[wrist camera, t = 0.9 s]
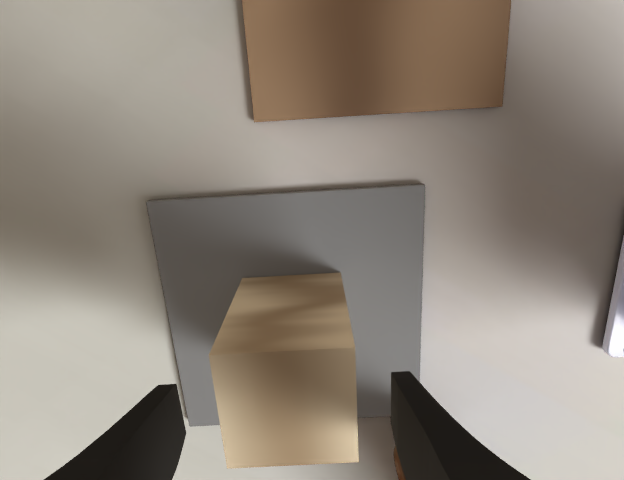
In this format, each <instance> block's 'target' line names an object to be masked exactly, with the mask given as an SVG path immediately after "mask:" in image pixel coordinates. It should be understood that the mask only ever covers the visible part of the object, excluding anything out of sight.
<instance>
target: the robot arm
mask: <svg viewBox="0 0 624 480" xmlns="http://www.w3.org/2000/svg"><path fill="white" fill-rule="evenodd" d="M603 350H604V352H606V353H607V354H608V355H610V356H611V357H624V237H623V242H622V247H621V252H620V257H619V263H618V268H617V273H616V278H615V283H614V288H613V294H612V299H611V304H610V309H609V314H608V320H607V325H606V330H605V335H604V340H603ZM391 425H392V430H393V435H394V440H395V444H396V449H397V453H398V456H399V459H400V463H401V466H402V469H403V472H404V475H405V478H406V480H530V479H529V478H527V477H526V476H524V475H523V474H521V473H520V472H519V471H517V470H516V469H514V468H513V467H511V466H510V465H508V464H507V463H506V462H504V461H503V460H502V459H500V458H499V457H498V456H496V455H495V454H494V453H492V452H491V451H490V450H489V449H487V448H486V447H485V446H484V445H482V444H481V443H480V442H479V441H478V440H476V439H475V438H474V437H473V436H472V435H471V434H470V433H469V432H467V431H466V430H465V429H464V428H463V427H462V426H461V425H460V424H459V423H458V422H457V421H456V420H455V419H454V418H453V417H452V416H451V415H450V414H449V413H448V412H447V411H446V410H445V409H444V408H443V407H442V406H441V405H440V404H439V403H438V402H437V401H436V400H435V399H434V398H433V397H432V396H431V395H430V393H429V392H428V391H427V390H426V389H425V388H424V387H423V386H422V384H421V383H420V382H419V381H418V380H417V379H416V377H415V376H414V375H413V374H412V373H411V372H410V371H401V372H391ZM185 436H186V430H185V425H184V420H183V415H182V410H181V405H180V400H179V395H178V390H177V385H176V384H169V385H158V386H157V387H156V388H154V389H153V390H152V391H151V392H150V393H149V394H147V395H146V396H145V397H144V398H143V399H142V400H141V401H140V402H139V403H138V404H136V405H135V406H134V407H133V408H132V409H131V410H130V411H129V412H128V413H127V414H125V415H124V416H123V417H122V418H121V419H120V420H119V421H118V422H116V423H115V424H114V425H113V426H112V427H111V428H110V429H109V430H107V431H106V432H105V433H104V434H103V435H101V436H100V437H99V438H98V439H96V440H95V441H94V442H93V443H92V444H90V445H89V446H88V447H87V448H86V449H84V450H83V451H82V452H81V453H80V454H78V455H77V456H76V457H74V458H73V459H72V460H70V461H69V462H68V463H66V464H65V465H64V466H62V467H61V468H60V469H58V470H57V471H55V472H54V473H53V474H51V475H50V476H48V477H47V478H46V479H44V480H172V478H173V476H174V473H175V471H176V468H177V465H178V462H179V458H180V455H181V451H182V447H183V443H184V439H185Z"/></svg>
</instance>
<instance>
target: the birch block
mask: <svg viewBox="0 0 624 480" xmlns="http://www.w3.org/2000/svg"><path fill="white" fill-rule="evenodd" d="M209 360H210V366H211V373H212V379H213V385H214V391H215V397H216V403H217V409H218V415H219V421H220V428H221V434H222V440H223V446H224V452H225V458H226V464H227V468H247V467H268V466H289V465H309V464H330V463H350V462H359V456H358V422H357V389H356V356H355V344H354V338H353V333H352V328H351V323H350V318H349V313H348V308H347V302H346V297H345V292H344V287H343V282H342V277H341V272H340V273H322V274H305V275H287V276H269V277H252V278H242V280H241V282H240V285H239V287H238V289H237V291H236V294H235V296H234V298H233V301H232V303H231V305H230V307H229V310H228V312H227V314H226V317H225V319H224V321H223V323H222V326H221V328H220V330H219V333H218V335H217V337H216V339H215V342H214V344H213V346H212V349H211V351H210V353H209Z"/></svg>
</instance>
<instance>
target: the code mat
mask: <svg viewBox="0 0 624 480" xmlns="http://www.w3.org/2000/svg"><path fill="white" fill-rule="evenodd" d="M146 204H147V209H148V215H149V220H150V225H151V230H152V235H153V240H154V246H155V251H156V256H157V261H158V266H159V271H160V277H161V282H162V287H163V292H164V297H165V302H166V308H167V313H168V318H169V323H170V328H171V333H172V339H173V344H174V349H175V354H176V359H177V364H178V370H179V375H180V380H181V385H182V390H183V395H184V401H185V406H186V411H187V416H188V421H189V426H208V425H220V421H219V415H218V409H217V403H216V397H215V391H214V385H213V379H212V373H211V366H210V360H209V353H210V351H211V349H212V346H213V344H214V342H215V339H216V337H217V335H218V333H219V330H220V328H221V326H222V323H223V321H224V319H225V317H226V314H227V312H228V310H229V307H230V305H231V303H232V301H233V298H234V296H235V294H236V291H237V289H238V287H239V285H240V282H241V280H242V278H252V277H269V276H287V275H305V274H322V273H340V272H341V277H342V282H343V287H344V292H345V297H346V302H347V308H348V313H349V318H350V323H351V328H352V333H353V338H354V344H355V356H356V389H357V418H366V417H386V416H391V372H401V371H410V372H411V373H412V374H413V375H414V376H415V377H416V379H417V380H418V381H419V382H420V348H421V313H422V278H423V244H424V209H425V185H424V184H411V185H394V186H378V187H361V188H344V189H328V190H311V191H295V192H278V193H261V194H245V195H228V196H211V197H195V198H178V199H162V200H149V201H147V202H146Z"/></svg>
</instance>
